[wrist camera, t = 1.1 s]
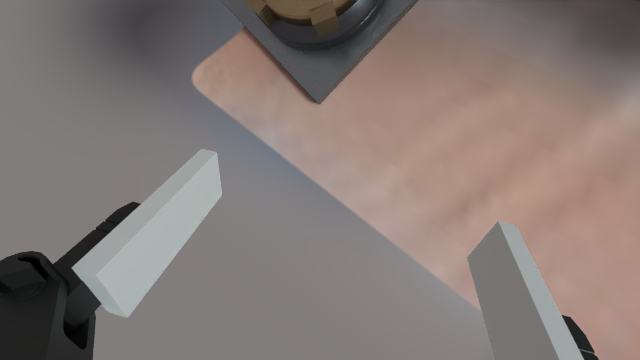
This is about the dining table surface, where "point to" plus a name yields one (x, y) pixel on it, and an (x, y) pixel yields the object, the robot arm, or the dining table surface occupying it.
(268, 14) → the ring nut
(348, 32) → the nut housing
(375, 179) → the dining table surface
